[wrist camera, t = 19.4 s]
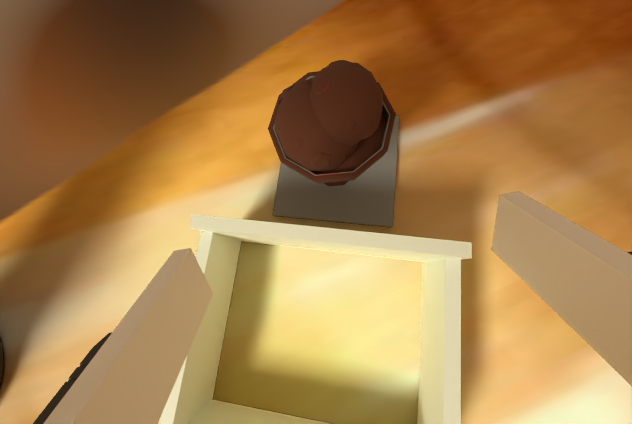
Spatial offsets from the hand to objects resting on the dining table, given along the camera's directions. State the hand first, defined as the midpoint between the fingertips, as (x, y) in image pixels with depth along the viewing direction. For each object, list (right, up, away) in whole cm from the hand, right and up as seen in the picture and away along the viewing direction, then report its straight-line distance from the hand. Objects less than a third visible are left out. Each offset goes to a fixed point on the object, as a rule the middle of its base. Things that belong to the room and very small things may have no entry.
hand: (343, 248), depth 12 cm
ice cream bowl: (+1, +7, +21) cm, 22 cm away
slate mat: (+1, +7, +21) cm, 22 cm away
